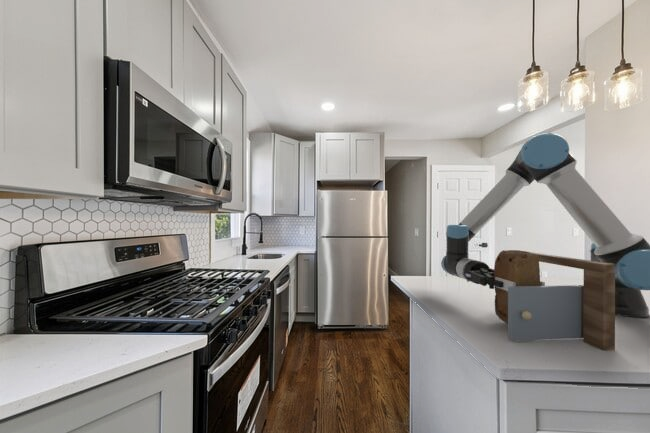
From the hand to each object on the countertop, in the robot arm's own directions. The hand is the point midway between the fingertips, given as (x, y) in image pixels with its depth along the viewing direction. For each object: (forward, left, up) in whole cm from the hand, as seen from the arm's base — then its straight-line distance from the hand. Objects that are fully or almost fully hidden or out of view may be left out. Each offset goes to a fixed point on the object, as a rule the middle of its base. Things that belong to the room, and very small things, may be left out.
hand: (528, 287), depth 72 cm
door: (-2, +4, -12) cm, 13 cm away
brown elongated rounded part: (0, -5, -11) cm, 12 cm away
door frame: (-12, -5, -12) cm, 18 cm away
